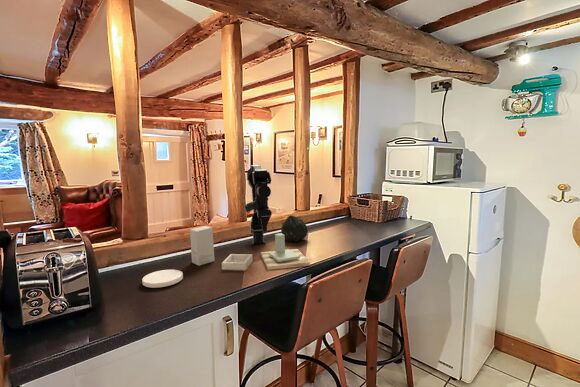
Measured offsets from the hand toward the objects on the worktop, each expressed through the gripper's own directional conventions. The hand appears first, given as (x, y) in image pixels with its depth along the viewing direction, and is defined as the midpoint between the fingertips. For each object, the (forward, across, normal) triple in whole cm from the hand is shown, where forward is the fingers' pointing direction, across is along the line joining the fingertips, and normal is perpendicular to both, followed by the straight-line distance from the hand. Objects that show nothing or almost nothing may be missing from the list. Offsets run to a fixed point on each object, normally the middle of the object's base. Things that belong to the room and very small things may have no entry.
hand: (262, 227), depth 150 cm
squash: (+12, -17, +20) cm, 29 cm away
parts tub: (+12, +16, -13) cm, 24 cm away
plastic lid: (+13, +26, -42) cm, 51 cm away
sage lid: (+10, +16, +7) cm, 20 cm away
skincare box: (+12, +7, -28) cm, 31 cm away
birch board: (+12, +15, +7) cm, 21 cm away
